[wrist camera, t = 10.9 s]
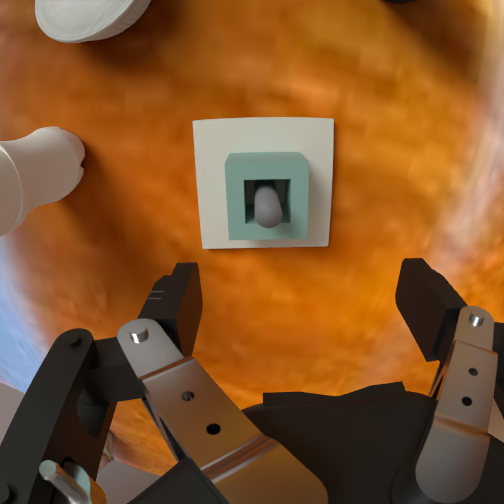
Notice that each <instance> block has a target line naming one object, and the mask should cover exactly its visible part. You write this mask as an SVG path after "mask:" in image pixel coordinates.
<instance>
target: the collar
mask: <svg viewBox="0 0 504 504" xmlns="http://www.w3.org/2000/svg"><path fill="white" fill-rule="evenodd" d="M261 179H285V203H280V206H281V210H282V220H281V222H280V223H279V224H278V225H277V226H276V227H273V228H264V227H261V226H260V225H259V224H258V223H257V222H256V220H255V204H247V196H246V180H261ZM225 181H226V199H227V216H228V232H229V240H263V239H307V223H308V188H309V161H308V160H307V159H306V158H305V157H304V156H303V155H302V154H301V152H242V153H229V155H228V157H227V159H226V161H225Z"/></svg>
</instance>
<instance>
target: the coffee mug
mask: <svg viewBox="0 0 504 504" xmlns="http://www.w3.org/2000/svg"><path fill="white" fill-rule="evenodd" d="M385 1H388V2H391V3H396V4H404V3H408V2H412V1H416V0H385Z"/></svg>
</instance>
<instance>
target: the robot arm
mask: <svg viewBox="0 0 504 504" xmlns="http://www.w3.org/2000/svg"><path fill="white" fill-rule="evenodd" d="M395 299H396V305H397V308H398V310H399V311H400V313H401V315H402V317H403V318H404V320H405V322H406V324H407V326H408V327H409V329H410V331H411V333H412V335H413V337H414V338H415V340H416V342H417V344H418V346H419V348H420V350H421V352H422V353H423V355H424V357H425V359H426V361H427V362H430V361H436V360H439V361H440V364H439V366H438V368H437V371H436V374H435V377H434V379H433V382H432V385H431V388H430V391H429V394H428V396H426V395H423V394H420V393H416V392H410V391H406V390H405V388H404V385H403V383H402V381H401V382H394V383H387V384H380V385H372V386H368V387H365V388H362V389H359V390H357V391H353V392H350V393H347V394H344V395H341V396H329V395H320V394H313V393H305V392H277V393H263V403H261V404H257V405H254V406H250V407H248V408H245V409H243V410H240V409H239V408H238V407H237V406H236V405H235V404H234V403H233V402H232V401H231V400H230V398H229V397H228V396H227V395H226V394H225V393H224V392H223V391H222V390H221V388H220V387H219V386H218V385H217V384H216V383H215V382H214V380H213V379H212V378H211V377H210V376H209V375H208V374H207V372H206V371H205V370H204V369H203V368H202V367H201V365H200V364H199V363H198V362H197V361H196V359H195V358H194V357H192V352H193V348H194V344H195V340H196V335H197V331H198V327H199V323H200V319H201V315H202V306H203V302H202V292H201V284H200V276H199V268H198V264H197V263H196V262H192V263H177V264H176V266H175V268H174V271H173V273H172V275H164V276H163V277H162V278H160V279H159V280H158V281H157V282H155V284H154V286H153V288H152V290H151V292H150V294H149V296H148V299H147V300H146V302H145V304H144V306H143V308H142V310H141V312H140V314H139V316H138V318H137V319H136V320H132V321H130V322H128V323H126V324H124V325H123V326H122V327H121V328H120V329H119V331H118V333H117V337H113V338H107V339H101V340H94V339H93V336H92V334H91V333H90V332H89V331H88V330H86V329H81V328H77V329H72V330H69V331H66V332H64V333H63V334H61V335H60V336H59V337H58V338H57V339H56V340H55V342H54V344H53V345H52V347H51V349H50V350H49V352H48V354H47V356H46V357H45V359H44V361H43V362H42V364H41V366H40V368H39V370H38V371H37V373H36V375H35V377H34V379H33V380H32V382H31V384H30V386H29V388H28V390H27V392H26V394H25V396H24V398H23V399H22V401H21V403H20V405H19V407H18V409H17V411H16V413H15V415H14V417H13V419H12V422H11V424H10V426H9V428H8V430H7V432H6V434H5V437H4V439H3V441H2V443H1V446H0V504H107V499H106V495H105V493H104V491H103V490H102V488H101V487H100V486H99V485H98V484H97V483H96V482H95V481H96V477H97V473H98V469H99V465H100V462H101V458H102V454H103V450H104V447H105V443H106V439H107V436H108V432H109V429H110V425H111V422H112V418H113V415H114V412H115V408H116V405H117V402H118V401H125V400H132V399H138V398H140V399H141V401H142V402H143V404H144V406H145V408H146V409H147V411H148V413H149V415H150V416H151V418H152V420H153V421H154V423H155V425H156V426H157V428H158V430H159V431H160V433H161V435H162V436H163V438H164V440H165V441H166V443H167V445H168V447H169V449H170V450H171V452H172V454H173V455H174V457H175V459H176V460H177V462H178V463H177V464H176V465H175V466H174V467H172V468H171V469H170V470H169V471H168V472H166V473H165V474H164V475H163V476H162V477H160V478H159V479H158V480H157V481H155V483H153V484H152V485H150V486H149V487H148V488H147V489H145V490H144V491H143V492H142V493H140V494H139V495H138V496H137V497H135V498H134V499H133V500H131V501H130V502H129V503H127V504H504V443H503V442H502V441H500V440H498V439H497V438H495V437H494V436H492V435H490V434H489V433H488V425H489V420H490V414H491V409H492V402H493V397H494V400H495V402H496V403H497V406H498V408H499V410H500V412H501V414H502V416H503V418H504V323H499V322H494V320H493V317H492V316H491V314H489V313H488V312H487V311H486V310H484V309H482V308H480V307H476V306H468V305H467V304H466V303H465V301H464V300H463V299H462V298H461V297H460V295H459V294H458V293H457V292H456V291H455V290H454V288H453V287H452V286H451V285H450V284H449V282H448V281H447V280H446V279H445V278H444V277H443V275H441V274H439V273H438V272H436V271H435V270H433V269H431V267H430V266H429V265H428V264H427V263H426V262H425V261H424V259H422V258H405V259H404V260H403V262H402V265H401V270H400V275H399V280H398V284H397V289H396V295H395Z"/></svg>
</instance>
